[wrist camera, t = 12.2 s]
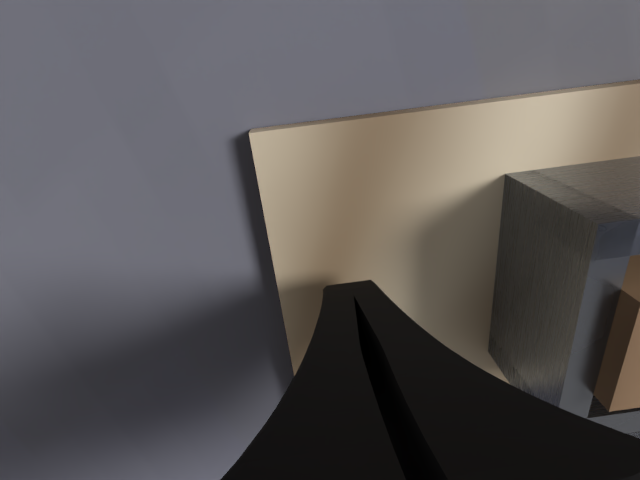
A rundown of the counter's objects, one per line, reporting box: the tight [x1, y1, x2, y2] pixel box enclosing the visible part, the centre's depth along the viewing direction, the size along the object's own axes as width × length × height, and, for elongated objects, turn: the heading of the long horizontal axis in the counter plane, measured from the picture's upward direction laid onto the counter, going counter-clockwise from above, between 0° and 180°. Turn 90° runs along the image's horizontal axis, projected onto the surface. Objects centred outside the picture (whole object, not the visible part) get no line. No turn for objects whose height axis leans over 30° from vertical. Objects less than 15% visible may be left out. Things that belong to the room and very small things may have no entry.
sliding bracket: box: [488, 156, 640, 434], centre depth 10 cm, size 4×6×4 cm, turn 6°
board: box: [249, 80, 640, 384], centre depth 12 cm, size 18×10×1 cm, turn 96°
